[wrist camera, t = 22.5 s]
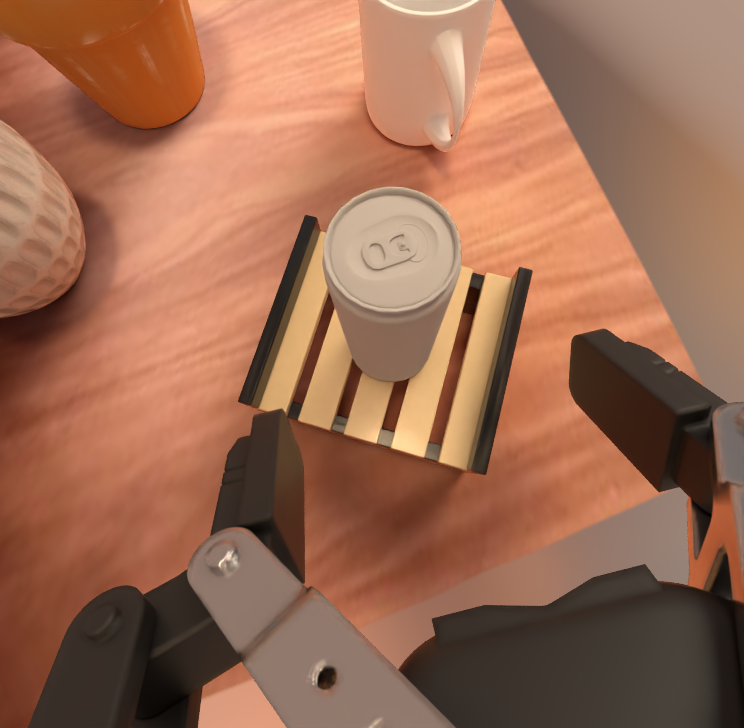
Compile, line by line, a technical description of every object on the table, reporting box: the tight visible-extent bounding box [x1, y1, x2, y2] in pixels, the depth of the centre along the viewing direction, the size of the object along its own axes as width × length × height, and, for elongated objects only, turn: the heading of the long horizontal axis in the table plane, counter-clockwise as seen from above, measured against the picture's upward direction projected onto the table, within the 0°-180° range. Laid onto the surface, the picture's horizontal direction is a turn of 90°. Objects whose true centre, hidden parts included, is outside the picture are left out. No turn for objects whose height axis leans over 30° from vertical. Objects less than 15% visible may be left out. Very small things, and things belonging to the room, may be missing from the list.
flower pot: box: [0, 0, 205, 129], centre depth 31 cm, size 14×14×13 cm
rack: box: [238, 215, 533, 475], centre depth 27 cm, size 14×12×7 cm
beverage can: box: [322, 187, 461, 382], centre depth 20 cm, size 5×5×12 cm
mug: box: [359, 0, 496, 152], centre depth 30 cm, size 9×12×11 cm
